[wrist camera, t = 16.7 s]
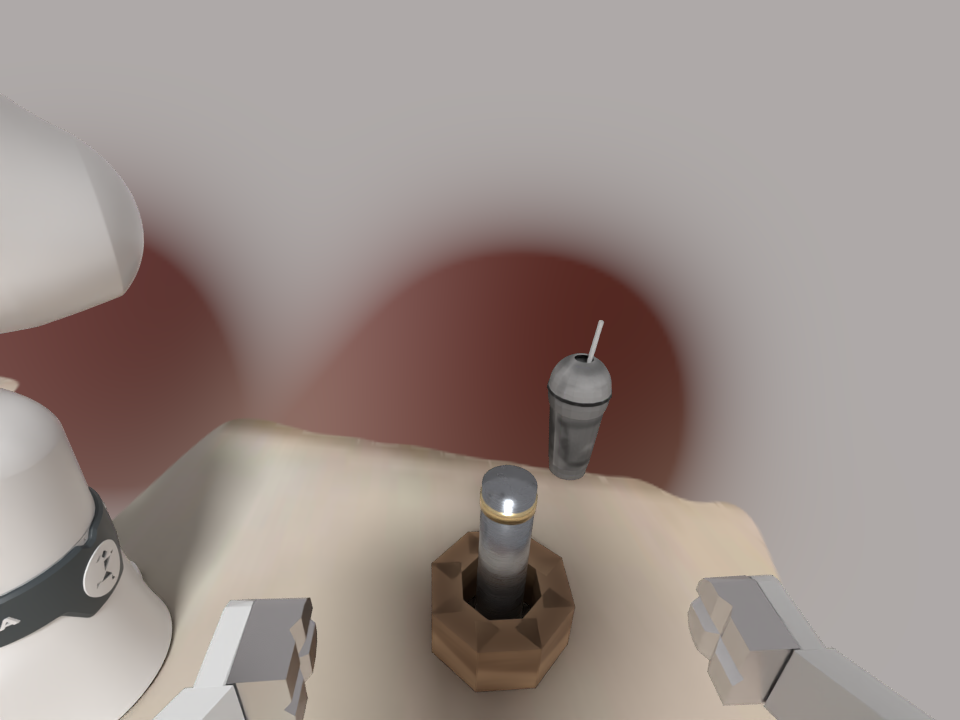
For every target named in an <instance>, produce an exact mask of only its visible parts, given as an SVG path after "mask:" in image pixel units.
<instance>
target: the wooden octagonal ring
mask: <svg viewBox="0 0 960 720" xmlns="http://www.w3.org/2000/svg"><path fill="white" fill-rule="evenodd" d="M479 533H480V531H478V532H467V533H466V534H465V535H464V536H463V537H462V538H460V539H459V540H458V541H457V542H456V543H455V544H454V545H452V546H451V547H450V548H449V549H448V550H447V551H445V552H444V553H443V554H442V555H441V556H440V557H439V558H437V559H436V560H435V561H434V562H433V563H432V653H434V654H435V655H436V656H437V657H438V658H439V659H440V660H441V661H442V662H444V663H445V664H446V665H447V666H448V667H449V668H450V669H451V670H452V671H453V672H454V673H456V674H457V675H458V676H459V677H460V678H461V679H462V680H463V681H464V682H465V683H466V684H468V685H469V686H470V687H471V688H472V689H473V690H474V691H475V692H481V691H496V690H511V689H526V688H536V687H537V685H538V684H539V682H540V681H541V680H542V678H543V677H544V676H545V674H546V673H547V671H548V670H549V669H550V667H551V666H552V665H553V663H554V662H555V661H556V659H557V658H558V656H559V655H560V654H561V652H562V651H563V650H564V648H565V647H566V645H567V644H568V639H569V634H570V629H571V624H572V619H573V614H574V609H575V605H574V601H573V597H572V594H571V590H570V586H569V583H568V579H567V575H566V572H565V568H564V564H563V561H562V557H560V556H558V555H557V554H555V553H553V552H552V551H550V550H549V549H547V548H546V547H544V546H543V545H541V544H539V543H538V542H536V541H535V540H533V539H532V538H531V542H530V550H529V558H528V566H527V575H526V583H525V591H524V599H523V601H524V602H525V603H527V604H528V605H529V606H531V609H530V611H529V612H528V613H527V614H526V615H525V616H524V618H523V619H507V620H487V619H486V618H485V617H484V616H482V615H481V614H480V613H479V612H477V611H476V610H475V609H474V608H472V607H471V606H470V605H469V604H467V603H468V602H469V601H470V600H471V599H472V598H473V597H474V596H475V595H476V588H477V569H478V551H479Z"/></svg>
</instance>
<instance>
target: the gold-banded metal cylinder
mask: <svg viewBox="0 0 960 720" xmlns="http://www.w3.org/2000/svg"><path fill="white" fill-rule="evenodd" d="M536 505H537V482H536V479H535V478H534V476H533V475H532V474H531V473H530V472H528V471H527V470H525V469H523V468H521V467H517V466H512V465H502V466H498V467H495V468H492V469H491V470H489V471H488V472H487V473H486V474H485V475H484V477H483V481H482V487H481V491H480V507H481V515H480V533H479V551H478V569H477V588H476V606H475V610H476V611H477V612H479V613H480V614H481V615H482V616H484V617H485V618H486V619H487V620H507V619H521V615H522V607H523V599H524V591H525V583H526V575H527V566H528V558H529V550H530V542H531V534H532V526H533V518H534V513H535V511H536Z"/></svg>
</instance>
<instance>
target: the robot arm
mask: <svg viewBox="0 0 960 720" xmlns="http://www.w3.org/2000/svg"><path fill="white" fill-rule="evenodd" d="M143 245H144V236H143V226H142V221H141V217H140V213H139V210H138V207H137V205H136V203H135V200H134V198H133V196H132V194H131V192H130V191H129V189H128V187H127V185H126V184H125V182H124V181H123V180H122V178H121V177H120V176H119V174H118V173H117V172H116V170H114V168H113V167H112V166H111V165H110V164H109V163H108V162H107V161H106V160H105V159H104V158H103V157H102V156H101V155H100V154H99V153H97V152H96V151H95V150H94V149H93V148H92V147H90V146H89V145H88V144H86V143H85V142H84V141H82V140H80V139H79V138H78V137H76V136H74V135H73V134H71V133H70V132H68V131H66V130H64V129H61V128H59V127H57V126H55V125H53V124H51V123H49V122H47V121H45V120H43V119H41V118H40V117H38V116H36V115H34V114H33V113H31V112H29V111H28V110H26V109H24V108H23V107H21V106H19V105H18V104H16V103H15V102H13V101H12V100H10V99H9V98H7V97H6V96H4V95H3V94H2V93H0V334H1V333H7V332H11V331H17V330H22V329H27V328H32V327H38V326H41V325H44V324H46V323H49V322H52V321H55V320H58V319H61V318H63V317H66V316H69V315H72V314H75V313H77V312H80V311H83V310H86V309H89V308H91V307H94V306H96V305H99V304H102V303H104V302H107V301H109V300H112V299H115V298H117V297H120V296H122V295H123V294H124V293H125V292H126V290H127V289H128V288H129V286H130V285H131V283H132V282H133V280H134V278H135V276H136V274H137V271H138V269H139V266H140V263H141V258H142V255H143ZM106 509H107V508H106V506H105V504H104V502H103V501H102V500H101V498H100V496H99V495H98V493H97V492H96V491H95V490H93V489H92V488H91V487H89V486H88V485H87V483H86V481H85V478H84V476H83V474H82V471H81V469H80V467H79V464H78V462H77V460H76V457H75V455H74V453H73V451H72V448H71V446H70V443H69V442H68V439H67V436H66V434H65V432H64V430H63V428H62V425H61V423H60V421H59V420H58V419H57V418H56V416H55V415H54V414H52V412H50V411H49V410H48V409H47V408H45V407H44V406H42V405H41V404H39V403H37V402H35V401H34V400H32V399H30V398H27V397H25V396H23V395H20V394H18V393H15V392H13V391H9V390H6V389H3V388H0V720H118V719H119V718H121V717H122V716H123V715H124V714H125V713H126V712H127V711H128V710H129V709H130V708H131V707H132V706H133V705H134V704H135V702H136V701H137V700H138V699H139V698H140V697H141V696H142V694H143V693H144V692H145V690H146V689H147V688H148V686H149V685H150V684H151V682H152V681H153V679H154V678H155V676H156V675H157V673H158V671H159V669H160V668H161V666H162V664H163V662H164V659H165V657H166V655H167V652H168V649H169V646H170V642H171V636H172V620H171V615H170V613H169V610H168V608H167V606H166V605H165V603H164V602H163V601H162V600H161V599H160V598H159V597H158V596H157V595H156V594H155V593H154V592H153V591H152V590H151V589H150V588H149V587H148V586H147V584H146V583H145V582H144V581H143V577H142V574H141V572H140V570H139V568H138V567H137V565H136V564H135V563H134V562H133V561H129V560H128V558H127V557H126V555H125V554H124V552H123V551H122V549H121V548H120V545H119V540H118V536H117V532H116V530H115V527H114V525H113V523H112V520H111V518H110V516H109V514H108V512H107V510H106ZM696 590H697V592H698V594H699V597H698V598H697V599H696V600H694V601H693V602H692V603H691V605H690V608H689V611H688V624H689V630H690V633H691V637H692V639H693V642H694V644H695V646H696V648H697V650H698V651H699V652H700V653H701V654H703V655H704V656H705V657H706V658H707V659H708V660H709V666H708V671H707V672H708V674H709V676H710V678H711V680H712V682H713V685H714V687H715V689H716V691H717V693H718V695H719V697H720V699H721V701H722V704H723V705H747V704H764V707H765V708H766V709H767V710H768V711H769V712H770V713H771V714H772V715H773V716H774V717H775V718H776V719H777V720H935V719H934V718H932V717H931V716H929V715H928V714H927V713H925V712H924V711H922V710H921V709H919V708H918V707H917V706H915V705H914V704H912V703H911V702H910V701H908V700H907V699H905V698H904V697H902V696H901V695H900V694H898V693H897V692H895V691H894V690H893V689H891V688H890V687H888V686H887V685H885V684H884V683H882V682H881V681H880V680H878V679H877V678H875V677H874V676H873V675H871V674H870V673H868V672H867V671H866V670H864V669H863V668H861V667H860V666H858V665H857V664H855V663H854V662H853V661H851V660H850V659H848V658H847V657H845V656H844V655H843V654H841V653H840V652H839V651H837V650H836V649H834V648H826V647H825V645H824V644H823V642H822V641H821V640H820V638H819V637H818V636H817V634H816V633H815V631H814V630H813V628H812V627H811V626H810V624H809V623H808V621H807V620H806V618H805V617H804V615H803V614H802V613H801V611H800V610H799V608H798V607H797V606H796V604H795V603H794V601H793V600H792V598H791V597H790V596H789V594H788V593H787V591H786V590H785V588H784V587H783V586H782V584H781V583H780V581H779V580H778V579H777V578H775V577H774V576H773V575H757V576H746V575H744V576H729V577H713V578H703V579H702V580H700V581H699V583H698V586H697V588H696ZM312 609H313V607H312V603H311V599H310V598H282V599H246V600H230V601H229V603H228V604H227V605H226V607H225V608H224V610H223V612H222V615H221V617H220V620H219V622H218V625H217V627H216V630H215V633H214V635H213V638H212V640H211V643H210V645H209V648H208V650H207V653H206V655H205V658H204V660H203V663H202V665H201V668H200V670H199V673H198V676H197V678H196V681H195V683H194V686H193V687H189V688H184V689H183V690H182V691H181V692H180V693H179V694H178V695H177V696H176V697H175V698H174V699H173V700H172V701H171V702H170V703H169V704H168V705H167V706H166V707H165V708H164V709H163V710H162V711H160V712H159V713H158V714H157V715H156V716H155V717H154V718H153V719H152V720H303V718H304V713H305V709H306V704H307V699H308V697H307V692H306V687H305V682H306V681H307V679H308V678H309V677H310V676H311V675H312V674H313V669H314V663H315V658H316V647H317V630H316V624H315V622H314V621H312V620H311V619H310V618H311V614H312Z"/></svg>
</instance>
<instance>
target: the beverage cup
mask: <svg viewBox="0 0 960 720" xmlns="http://www.w3.org/2000/svg"><path fill="white" fill-rule="evenodd" d="M603 323H604V321H602V320H600V321H599V323H598V326H597V330H596V333H595V337H594V340H593V343H592V346H591V349H590V353H589V355H588V354H583V353H580V354H579V353H578V354H573V355H570V356H567V357H566V358H564V359H562V360H561V361H560V362H559V363H558V364H557V365H556V366H555V368H554V369H553V371H552V373H551V377H550V379H549V382H548V385H547V388H548V397H549V403H550V419H549V468H550V471H551V472H552V473H553V474H554V475H555V476H557V477H559V478H562V479H566V480H576V479H579V478H581V477H582V476H583V475H584V474H585V470H586V468H587V465H588V463H589V460H590V456H591V453H592V450H593V446H594V443H595V439H596V436H597V433H598V429H599V426H600V423H601V419H602V416H603V413H604V411H605V409H606V407H607V405H608V403H609V400H610V398H611V397H612V390H611V378H610V374H609V372H608V370H607V368H606V367H605V365H604V364H603V363H602V362H601V361H600V360H598V359H597V358H595V357H594V353H595V349H596V346H597V343H598V339H599V336H600V333H601V329H602V326H603Z"/></svg>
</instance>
